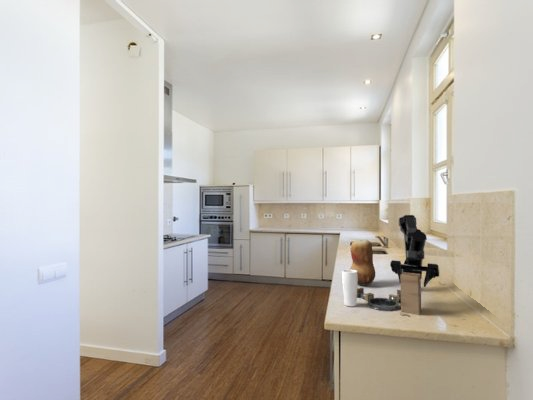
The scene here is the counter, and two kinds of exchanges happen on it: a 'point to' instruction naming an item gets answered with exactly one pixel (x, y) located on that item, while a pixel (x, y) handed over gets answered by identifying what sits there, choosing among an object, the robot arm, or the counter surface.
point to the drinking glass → (350, 287)
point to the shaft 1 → (365, 296)
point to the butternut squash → (363, 261)
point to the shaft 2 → (396, 296)
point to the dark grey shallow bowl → (383, 304)
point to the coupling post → (410, 293)
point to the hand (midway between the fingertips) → (412, 284)
